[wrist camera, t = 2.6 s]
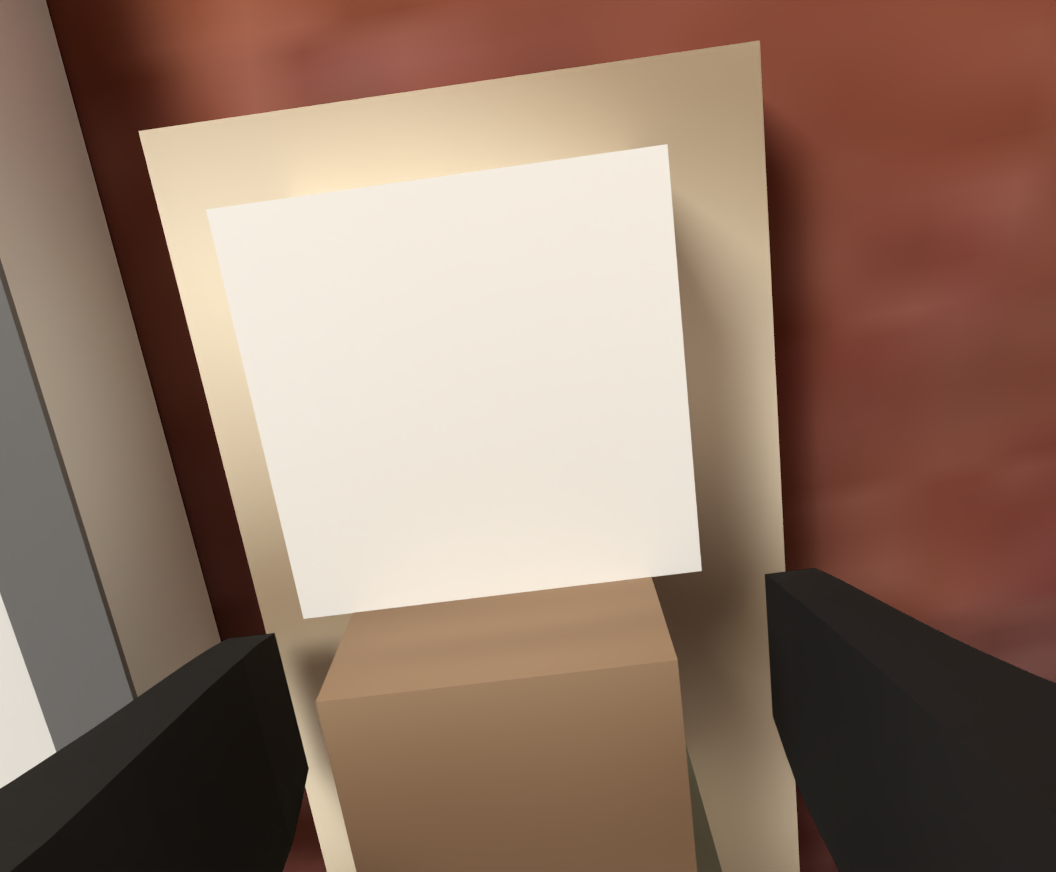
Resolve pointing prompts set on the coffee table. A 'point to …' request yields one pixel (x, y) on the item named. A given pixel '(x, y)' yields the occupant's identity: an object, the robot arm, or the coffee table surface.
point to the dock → (75, 439)
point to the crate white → (469, 380)
